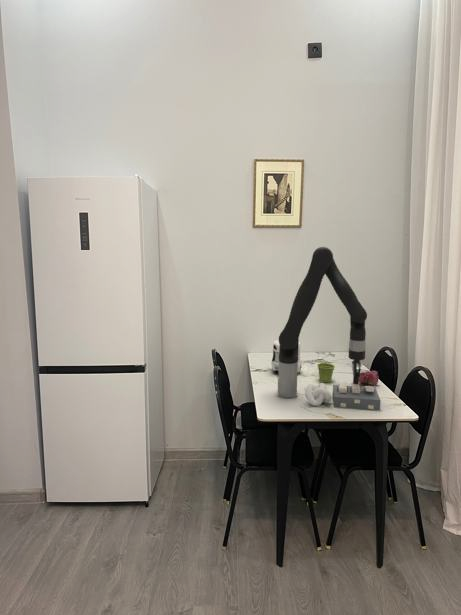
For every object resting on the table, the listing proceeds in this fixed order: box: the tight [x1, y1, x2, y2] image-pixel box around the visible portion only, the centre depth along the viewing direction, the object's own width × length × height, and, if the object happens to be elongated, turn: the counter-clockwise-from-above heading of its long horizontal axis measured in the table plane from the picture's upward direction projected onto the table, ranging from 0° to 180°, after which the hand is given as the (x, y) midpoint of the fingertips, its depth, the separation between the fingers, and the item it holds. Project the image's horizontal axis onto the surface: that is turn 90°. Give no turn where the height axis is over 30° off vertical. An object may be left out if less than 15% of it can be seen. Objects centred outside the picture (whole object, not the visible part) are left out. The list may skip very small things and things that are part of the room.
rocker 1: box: [338, 380, 348, 393], centre depth 190 cm, size 3×7×2 cm, turn 168°
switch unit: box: [332, 384, 382, 411], centre depth 189 cm, size 20×16×7 cm
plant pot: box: [316, 362, 336, 384], centre depth 218 cm, size 9×9×9 cm
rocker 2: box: [350, 382, 360, 394], centre depth 189 cm, size 3×7×2 cm, turn 168°
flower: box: [358, 370, 380, 386], centre depth 211 cm, size 11×10×10 cm
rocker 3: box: [363, 385, 374, 392], centre depth 188 cm, size 3×7×2 cm, turn 168°
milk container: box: [270, 338, 302, 374], centre depth 232 cm, size 17×17×18 cm
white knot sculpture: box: [304, 382, 332, 407], centre depth 188 cm, size 11×12×9 cm
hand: (355, 383), depth 191 cm, fingers closed
